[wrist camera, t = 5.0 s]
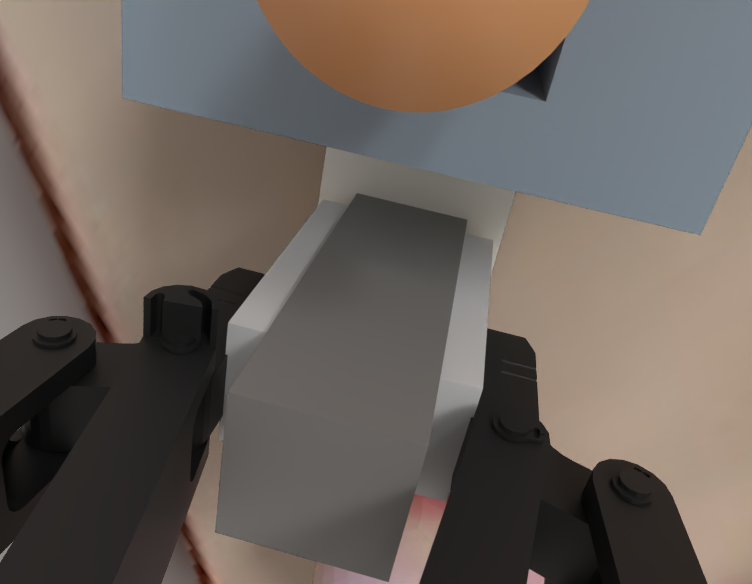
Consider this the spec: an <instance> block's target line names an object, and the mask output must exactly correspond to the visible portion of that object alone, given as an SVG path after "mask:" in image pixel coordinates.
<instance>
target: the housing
mask: <svg viewBox="0 0 752 584" xmlns="http://www.w3.org/2000/svg"><path fill="white" fill-rule="evenodd" d="M122 98H124V99H128V100H132V101H136V102H141V103H145V104H149V105H153V106H157V107H162V108H166V109H170V110H174V111H179V112H183V113H187V114H191V115H195V116H200V117H204V118H208V119H212V120H216V121H221V122H225V123H229V124H233V125H238V126H242V127H246V128H250V129H254V130H259V131H263V132H267V133H271V134H275V135H280V136H284V137H288V138H292V139H297V140H301V141H305V142H309V143H313V144H318V145H322V146H326V147H330V148H334V149H339V150H343V151H347V152H351V153H356V154H360V155H364V156H368V157H372V158H377V159H381V160H385V161H389V162H393V163H398V164H402V165H406V166H410V167H415V168H419V169H423V170H427V171H431V172H436V173H440V174H444V175H448V176H452V177H457V178H461V179H465V180H469V181H474V182H478V183H482V184H486V185H490V186H495V187H499V188H503V189H507V190H512V191H516V192H520V193H524V194H528V195H533V196H537V197H541V198H545V199H549V200H554V201H558V202H562V203H566V204H571V205H575V206H579V207H583V208H587V209H592V210H596V211H600V212H604V213H608V214H613V215H617V216H621V217H625V218H630V219H634V220H638V221H642V222H646V223H651V224H655V225H659V226H663V227H667V228H672V229H676V230H680V231H684V232H689V233H693V234H697V235H701V233H702V230H703V228H704V226H705V224H706V222H707V220H708V218H709V215H710V213H711V211H712V209H713V207H714V205H715V203H716V200H717V198H718V196H719V194H720V192H721V190H722V188H723V185H724V183H725V181H726V179H727V177H728V175H729V173H730V170H731V168H732V166H733V164H734V162H735V160H736V158H737V155H738V153H739V151H740V149H741V147H742V145H743V142H744V140H745V138H746V136H747V134H748V132H749V130H750V127H751V125H752V0H589V2H588V4H587V6H586V8H585V10H584V12H583V13H582V15H581V16H580V17H579V19H578V20H577V22H576V23H575V25H574V26H573V28H572V29H571V31H570V32H569V34H568V35H567V36H566V37H565V38H564V39H563V41H562V42H561V43H560V44H559V45H558V46H557V48H556V49H555V50H554V51H553V52H552V53H551V54H550V55H549V56H548V57H547V58H546V59H545V60H544V61H543V62H542V63H541V64H539V65H538V66H537V67H536V68H535V69H534V70H533V71H532V72H530V73H529V74H527V75H526V76H525V77H523V78H522V79H520V80H519V81H518V82H516V83H515V84H513V85H512V86H510V87H508V88H506V89H504V90H503V91H501V92H499V93H497V94H495V95H493V96H492V97H489V98H486V99H484V100H481V101H479V102H476V103H473V104H471V105H467V106H463V107H459V108H455V109H451V110H446V111H436V112H427V113H421V112H400V111H394V110H388V109H382V108H379V107H375V106H372V105H369V104H365V103H362V102H360V101H357V100H355V99H353V98H351V97H349V96H346V95H344V94H342V93H340V92H339V91H337V90H335V89H334V88H332V87H330V86H329V85H327V84H326V83H324V82H322V81H321V80H320V79H319V78H317V77H316V76H315V75H314V74H312V73H311V72H310V71H309V70H307V69H306V68H305V67H304V66H303V65H302V64H301V63H300V62H299V61H298V60H297V59H296V58H295V57H294V56H293V55H292V54H291V53H290V52H289V51H288V49H287V48H286V47H285V45H284V44H283V43H282V41H281V40H280V39H279V37H278V36H277V35H276V33H275V32H274V31H273V29H272V27H271V26H270V24H269V22H268V20H267V19H266V17H265V15H264V14H263V12H262V10H261V8H260V6H259V4H258V1H257V0H122Z"/></svg>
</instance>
